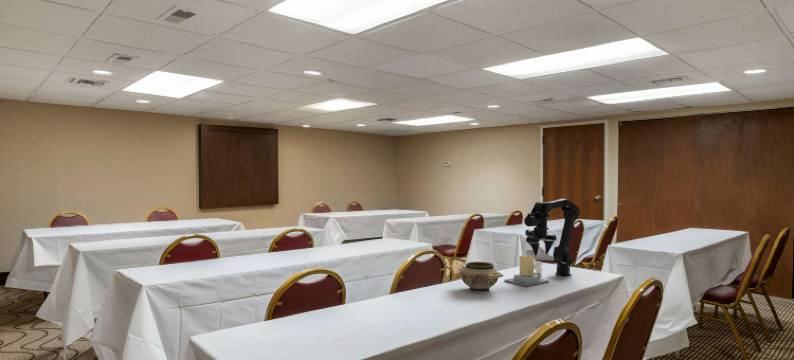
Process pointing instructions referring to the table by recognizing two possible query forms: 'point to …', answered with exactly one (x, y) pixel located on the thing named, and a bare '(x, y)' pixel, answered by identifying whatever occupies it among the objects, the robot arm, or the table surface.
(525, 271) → the tan rectangular block
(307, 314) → the table surface
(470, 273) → the ceramic bowl
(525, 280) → the housing plate
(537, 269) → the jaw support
